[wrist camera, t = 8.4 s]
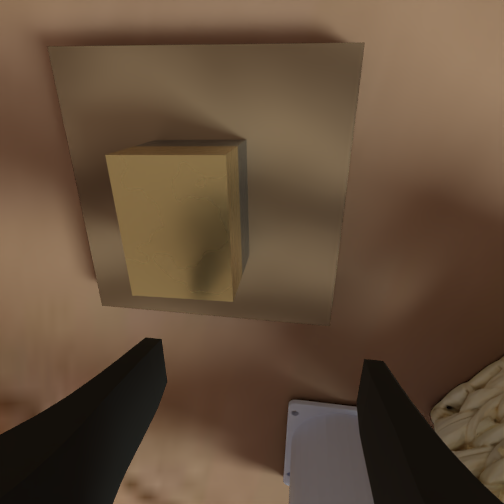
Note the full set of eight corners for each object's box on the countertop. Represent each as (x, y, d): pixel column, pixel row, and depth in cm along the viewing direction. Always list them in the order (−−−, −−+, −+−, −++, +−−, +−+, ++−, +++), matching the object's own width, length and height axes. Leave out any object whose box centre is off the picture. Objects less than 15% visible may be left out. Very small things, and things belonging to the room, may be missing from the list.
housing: (246, 139, 16) (225, 155, 12) (249, 255, 18) (233, 301, 14) (155, 140, 17) (105, 154, 12) (169, 252, 19) (132, 295, 15)
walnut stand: (327, 306, 21) (329, 326, 20) (117, 289, 23) (102, 305, 21) (357, 48, 16) (364, 42, 14) (74, 51, 17) (47, 46, 16)
